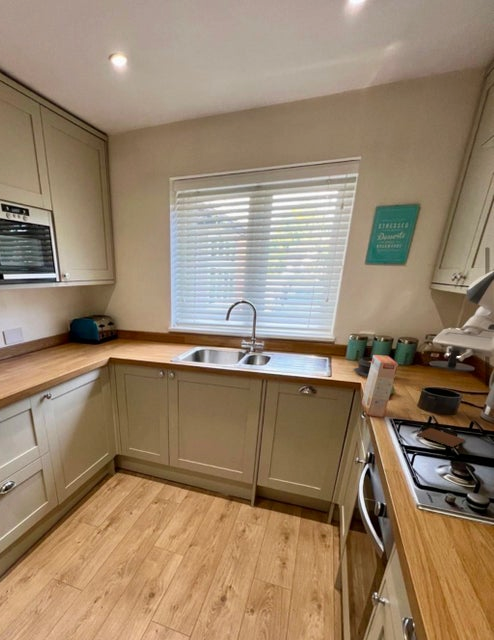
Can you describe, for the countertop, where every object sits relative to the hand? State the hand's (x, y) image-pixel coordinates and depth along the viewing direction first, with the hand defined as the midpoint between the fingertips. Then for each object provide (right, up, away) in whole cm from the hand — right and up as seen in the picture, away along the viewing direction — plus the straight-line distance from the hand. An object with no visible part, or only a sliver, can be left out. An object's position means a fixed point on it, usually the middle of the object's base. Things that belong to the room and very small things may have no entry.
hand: (452, 358), depth 120 cm
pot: (+1, -20, +9) cm, 22 cm away
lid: (0, -3, +1) cm, 3 cm away
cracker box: (-24, -19, +10) cm, 32 cm away
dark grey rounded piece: (+5, -2, +59) cm, 59 cm away
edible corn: (-8, -13, +27) cm, 31 cm away
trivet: (-14, -28, -12) cm, 33 cm away
